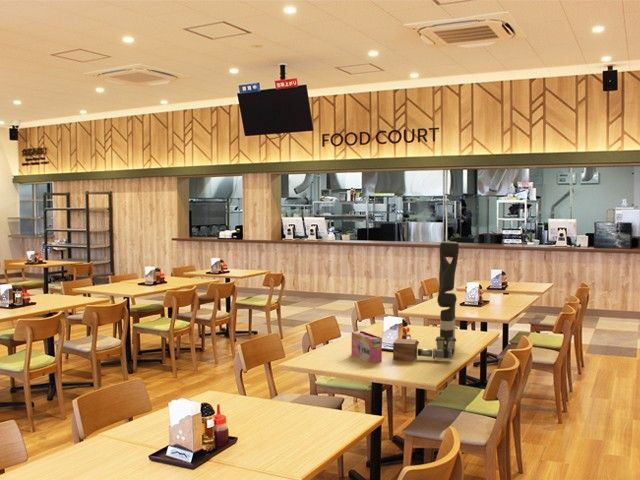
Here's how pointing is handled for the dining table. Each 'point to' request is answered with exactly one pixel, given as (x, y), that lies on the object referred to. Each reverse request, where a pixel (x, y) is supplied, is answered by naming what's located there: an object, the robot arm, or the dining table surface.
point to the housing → (405, 350)
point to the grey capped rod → (434, 353)
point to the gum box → (367, 346)
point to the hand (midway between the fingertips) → (446, 356)
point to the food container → (440, 343)
